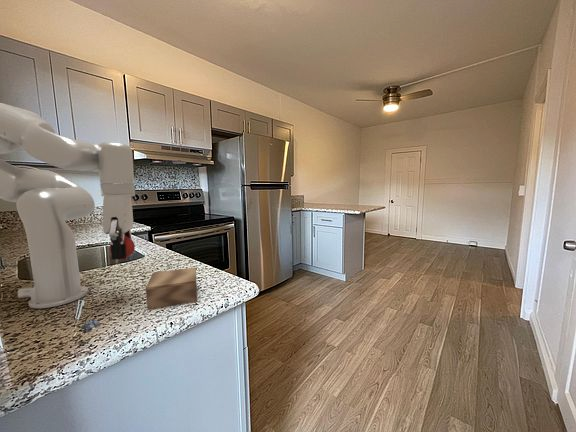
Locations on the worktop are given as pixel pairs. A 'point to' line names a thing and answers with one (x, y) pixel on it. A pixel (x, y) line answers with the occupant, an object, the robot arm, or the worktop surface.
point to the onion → (127, 246)
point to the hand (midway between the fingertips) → (122, 254)
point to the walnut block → (171, 288)
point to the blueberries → (90, 325)
